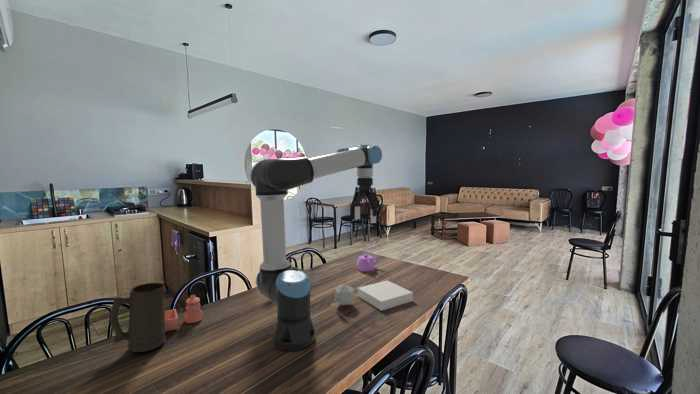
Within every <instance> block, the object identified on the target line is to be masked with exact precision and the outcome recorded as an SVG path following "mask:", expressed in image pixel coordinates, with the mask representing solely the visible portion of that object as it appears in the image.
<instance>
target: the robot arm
mask: <svg viewBox="0 0 700 394" xmlns="http://www.w3.org/2000/svg"><path fill="white" fill-rule="evenodd" d="M382 151H383V150H382V149H381V148H380V146H378V145H370V144H359V145H357V146H356V147H340V148H338V149H337V151H336V152H334V153H330V154H325V155H324V154H323V155H320V156H315V157H311V158H309V157H307V156H301V157H293V158H290V157H289V158H285V157H283V158H282V157H280V158H267V159H266V158H265V159H263V160H259V161H257V162H256V163H255V164H254V165H253V167H252V168H251V170H250V173H249V174H250V176H249V177H250V181H251V183H252V184H253V186H254V188H255V196H256V198H258V199H259V201H260V218H261V219H260V220H261V221H260V222H261V237H262V238H261V239H262V260H263V261H262V263H260V265H259V272H258V273H257V274H256V277H255V283H256V284H255V285H256V287H257V290H258V291H259V292H260V293H261V294H262V295H263V296H264V297H266V298H267V299H269V300H270V301H271V302H273V303H275V304H276V309H277V310H276V312H277V313H276V314H277V318H276V319H277V320H276V323H275V326H274V329H273V333H272V344H273V345H274V346H275V347H276V348H277V349H279V350H282V351H299V350H303V349H305V348H307V347H309V346H311V345H312V344H313V343H314V342H315V340H316V337H317V335H316V328H315V325H314V322H313V320H312V317H311V281H310V277H309V275H308V274H307V273H306V272H301V271H296V270H291V269H290V262H289V259H288V260H287V250H286V248H287V247H286V230H285V229H286V227H285V226H286V225H285V223H286V222H285V205H284V204H285V201H284V200H285V198H286V197H287V195H288V191H290V190H292V189H295V188H298V187H301V186H304V185H308V184H310V183H313V182H314V180H315V179H318V178H319V179H320V178H322V177H326V176H330V175H334V174H337V173H340V172H344V171H347V170H348V171H349V170H351V169H352V170H353V169H354V168H355V169H356V168H357V169H356V170H357V171H356V176H357V181H356V185H357V186H355V188H354V195H353V198H352V202H351V205H352V206H353V207H354V220H361V205H360V204H361V202H362V200H363V198H366V200H367V202H368V203H369V205H370V224H376V223H377V214H378V213H377V212H378V211H377V210H378V209H380V208H381V206H380V203H379V199H378V196H377V192H376V191H377V190H376V188H375V187H372V186H373V185H374V178H373V172H374V168H373V165H375V164H379V163H380V162H381V161H382V157H383V152H382Z"/></svg>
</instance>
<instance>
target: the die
mask: <svg viewBox="0 0 700 394" xmlns="http://www.w3.org/2000/svg"><path fill="white" fill-rule="evenodd" d="M334 302H336V303H339V304H340V305H342V306H346V305H348V304H351V303H353V302H355V288H354V287H353V286H350V285H348V284H346V283H343V284H341V285H338V286H337V287H335V288H334Z"/></svg>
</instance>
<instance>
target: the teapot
mask: <svg viewBox="0 0 700 394" xmlns="http://www.w3.org/2000/svg"><path fill="white" fill-rule="evenodd" d="M380 256H381V254H377V255H376V256H375V258H373V256H372V255H369V254H367V253H364V254H363V255H359V256H358V258H357V260H356V268H357V270H358V271H359V272H363V273H368V272H374V271H375V269H376V265H377V264H378V260H379V257H380Z"/></svg>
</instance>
